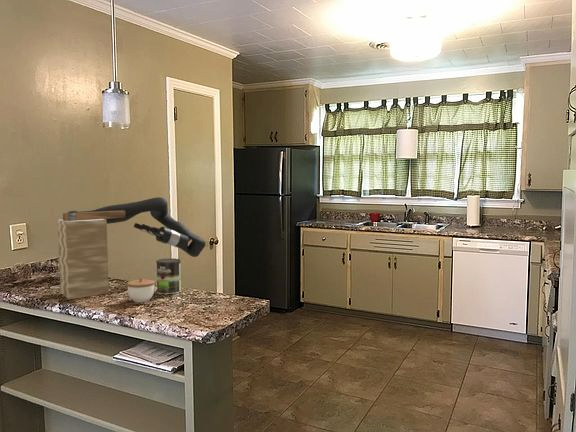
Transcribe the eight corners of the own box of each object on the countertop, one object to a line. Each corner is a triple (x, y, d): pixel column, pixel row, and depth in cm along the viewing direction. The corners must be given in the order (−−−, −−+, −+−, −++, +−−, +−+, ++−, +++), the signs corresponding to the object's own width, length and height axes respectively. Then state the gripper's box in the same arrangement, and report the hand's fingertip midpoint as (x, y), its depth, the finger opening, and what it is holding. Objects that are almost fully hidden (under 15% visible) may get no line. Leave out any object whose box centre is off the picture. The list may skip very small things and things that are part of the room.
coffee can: (173, 295, 198) (172, 263, 197) (152, 294, 201) (151, 261, 200) (185, 290, 208) (185, 258, 207) (165, 288, 211) (164, 257, 210)
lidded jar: (138, 296, 197) (138, 274, 197) (160, 298, 194) (159, 276, 193) (121, 302, 187) (121, 279, 187) (144, 305, 184) (143, 281, 183)
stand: (60, 292, 204) (57, 219, 201) (98, 287, 214) (96, 217, 211) (69, 299, 193) (66, 221, 190) (108, 293, 203) (106, 219, 200)
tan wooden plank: (62, 220, 198) (62, 213, 198) (121, 217, 214) (121, 210, 214) (66, 221, 194) (65, 213, 194) (125, 217, 210) (125, 211, 210)
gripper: (164, 228, 235) (134, 217, 225) (177, 230, 224) (147, 218, 214) (159, 242, 233) (129, 231, 223) (172, 245, 222) (141, 234, 212)
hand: (138, 225), depth 219 cm, fingers open, 8 cm apart
